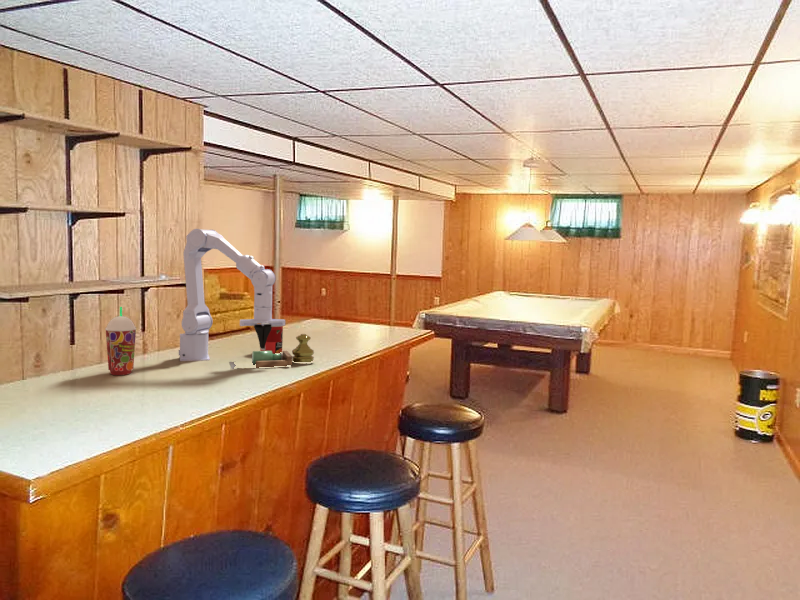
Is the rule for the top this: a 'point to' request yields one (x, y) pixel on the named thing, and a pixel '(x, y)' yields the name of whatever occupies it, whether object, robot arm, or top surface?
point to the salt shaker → (303, 350)
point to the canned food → (274, 340)
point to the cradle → (272, 361)
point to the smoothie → (120, 345)
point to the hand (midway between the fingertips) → (262, 347)
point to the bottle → (265, 356)
